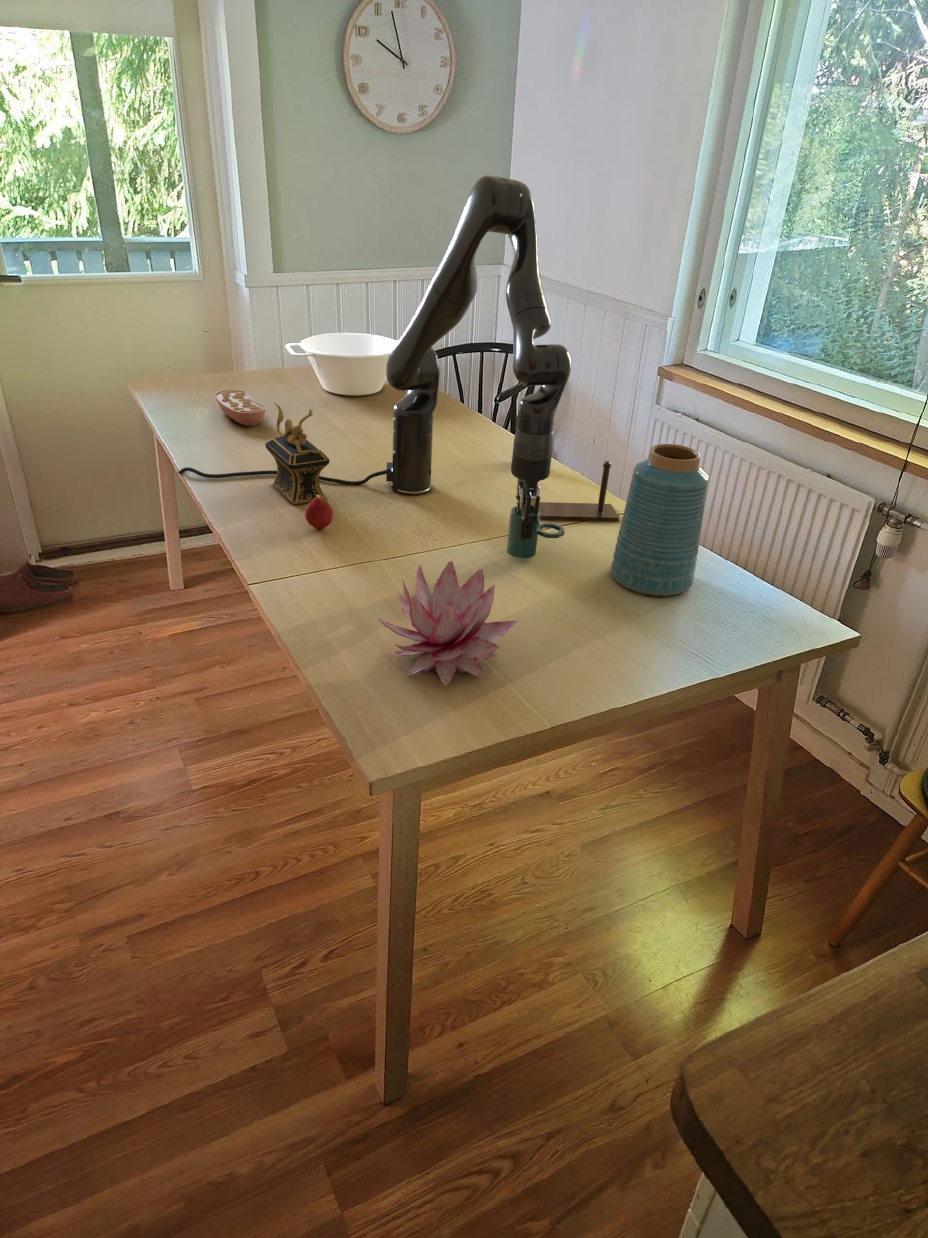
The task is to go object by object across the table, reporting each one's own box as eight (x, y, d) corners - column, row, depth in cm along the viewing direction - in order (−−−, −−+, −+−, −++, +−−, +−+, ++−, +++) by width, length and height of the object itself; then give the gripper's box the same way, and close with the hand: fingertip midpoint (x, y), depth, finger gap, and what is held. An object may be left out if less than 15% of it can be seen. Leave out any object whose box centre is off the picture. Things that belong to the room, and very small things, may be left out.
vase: (675, 608, 158) (704, 474, 145) (596, 582, 165) (617, 453, 152) (702, 576, 170) (732, 450, 157) (628, 553, 177) (649, 431, 164)
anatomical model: (271, 427, 234) (270, 410, 231) (236, 432, 229) (234, 414, 226) (242, 405, 250) (241, 388, 247) (209, 408, 245) (208, 391, 243)
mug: (508, 558, 169) (512, 517, 164) (505, 544, 174) (509, 504, 169) (563, 559, 170) (568, 518, 165) (558, 546, 175) (563, 506, 170)
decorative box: (332, 501, 192) (330, 417, 182) (292, 508, 187) (288, 422, 177) (299, 472, 206) (296, 392, 196) (261, 478, 202) (256, 396, 192)
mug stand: (540, 519, 190) (546, 465, 184) (535, 505, 197) (541, 453, 190) (618, 521, 192) (627, 468, 185) (610, 507, 199) (618, 455, 192)
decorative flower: (405, 618, 149) (408, 541, 142) (522, 642, 145) (530, 564, 137) (358, 682, 132) (358, 599, 124) (489, 712, 127) (497, 628, 119)
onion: (338, 527, 180) (337, 492, 176) (325, 537, 176) (324, 502, 172) (313, 522, 182) (312, 487, 178) (301, 532, 177) (299, 497, 173)
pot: (301, 406, 252) (299, 358, 245) (280, 378, 277) (278, 333, 270) (427, 399, 266) (428, 353, 258) (396, 372, 291) (397, 330, 284)
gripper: (508, 438, 166) (501, 515, 175) (517, 464, 154) (509, 546, 163) (546, 439, 167) (536, 516, 176) (557, 466, 155) (547, 547, 163)
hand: (523, 530), depth 169 cm, fingers closed on mug, 6 cm apart
